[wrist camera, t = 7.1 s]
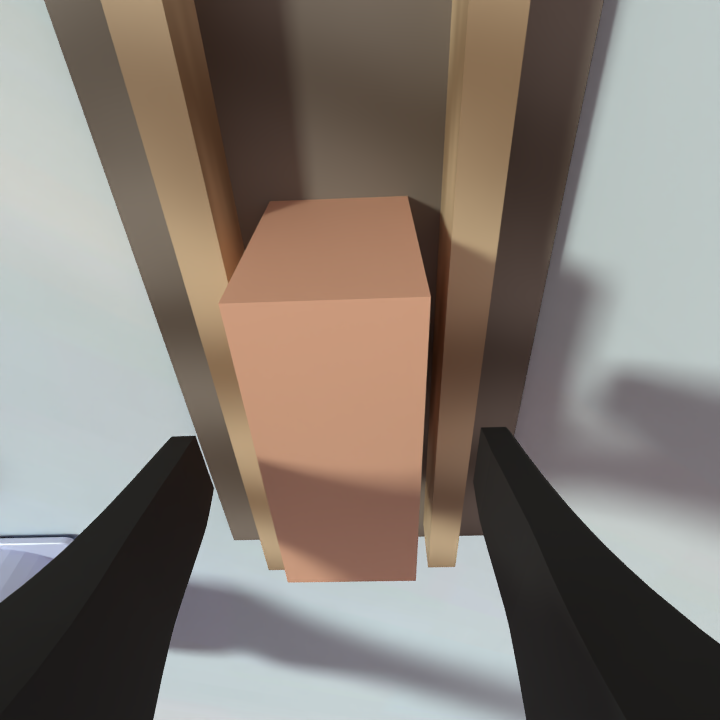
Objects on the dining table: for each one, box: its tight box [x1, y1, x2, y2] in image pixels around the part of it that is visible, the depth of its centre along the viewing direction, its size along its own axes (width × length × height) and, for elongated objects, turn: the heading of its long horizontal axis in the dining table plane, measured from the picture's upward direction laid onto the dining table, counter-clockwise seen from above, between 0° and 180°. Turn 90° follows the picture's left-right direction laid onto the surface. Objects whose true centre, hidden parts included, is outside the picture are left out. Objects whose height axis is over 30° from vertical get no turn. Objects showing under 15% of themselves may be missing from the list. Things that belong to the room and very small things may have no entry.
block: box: [218, 196, 431, 582], centre depth 14 cm, size 10×4×6 cm, turn 2°
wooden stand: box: [44, 0, 604, 570], centre depth 16 cm, size 24×13×3 cm, turn 3°
